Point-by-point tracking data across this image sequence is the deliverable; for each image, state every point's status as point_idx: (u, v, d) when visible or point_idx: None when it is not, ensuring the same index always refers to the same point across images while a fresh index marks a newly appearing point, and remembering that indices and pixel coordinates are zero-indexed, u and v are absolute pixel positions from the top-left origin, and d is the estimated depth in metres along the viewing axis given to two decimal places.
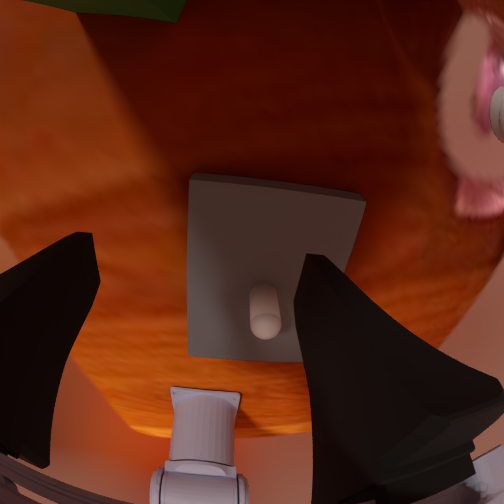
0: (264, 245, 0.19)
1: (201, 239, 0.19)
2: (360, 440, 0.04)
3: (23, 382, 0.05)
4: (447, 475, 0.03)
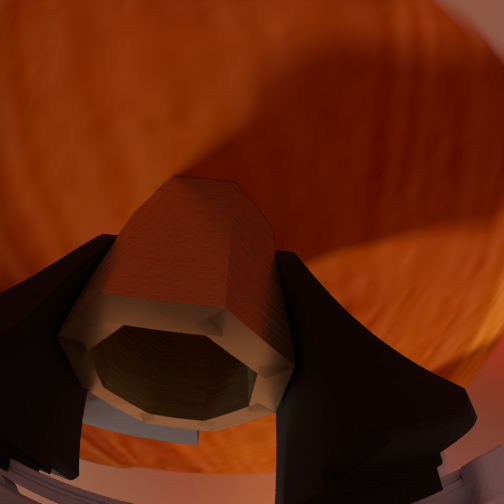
0: None
1: None
2: (309, 446, 0.04)
3: (55, 393, 0.05)
4: (407, 490, 0.03)
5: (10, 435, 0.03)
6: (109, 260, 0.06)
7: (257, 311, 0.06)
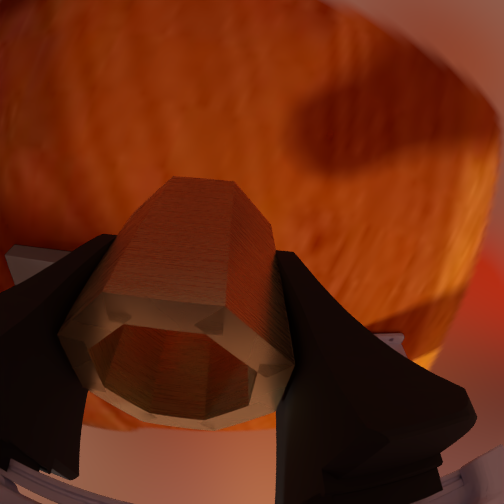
0: None
1: None
2: (309, 446, 0.04)
3: (55, 394, 0.05)
4: (407, 490, 0.03)
5: (10, 435, 0.03)
6: (109, 259, 0.06)
7: (257, 310, 0.06)
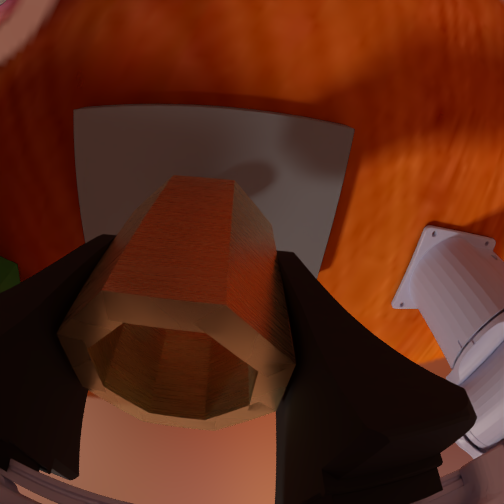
0: (133, 206, 0.17)
1: None
2: (309, 446, 0.04)
3: (55, 393, 0.05)
4: (407, 490, 0.03)
5: (10, 435, 0.03)
6: (109, 258, 0.06)
7: (258, 309, 0.05)
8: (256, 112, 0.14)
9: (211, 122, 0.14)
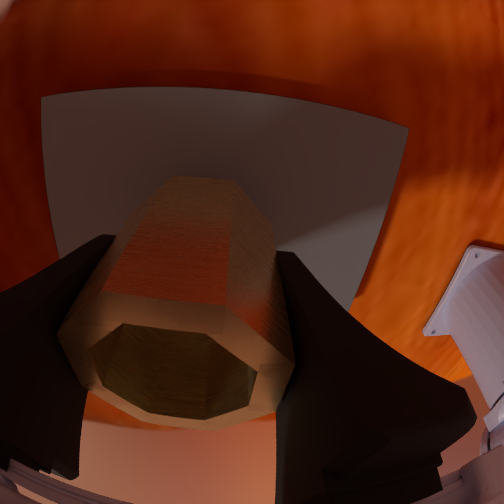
0: (118, 222, 0.12)
1: None
2: (309, 446, 0.04)
3: (55, 394, 0.05)
4: (407, 490, 0.03)
5: (10, 435, 0.03)
6: (109, 258, 0.06)
7: (257, 309, 0.05)
8: (286, 98, 0.10)
9: (223, 110, 0.10)
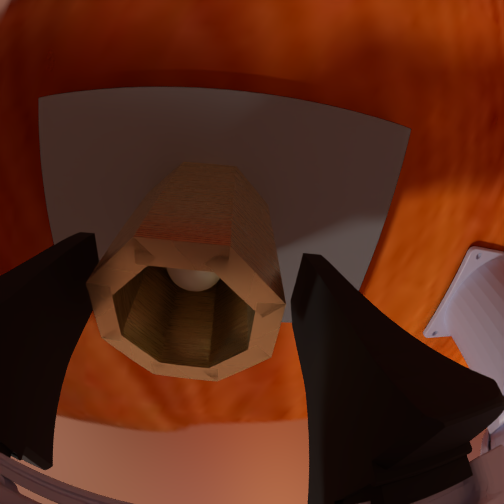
0: (116, 224, 0.12)
1: None
2: (355, 441, 0.04)
3: (26, 383, 0.05)
4: (443, 477, 0.03)
5: None
6: (132, 223, 0.08)
7: (255, 257, 0.07)
8: (286, 98, 0.10)
9: (222, 110, 0.10)
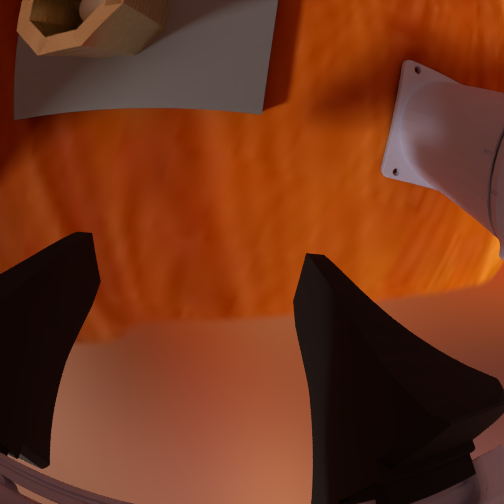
0: None
1: (57, 99, 0.13)
2: (360, 440, 0.04)
3: (23, 382, 0.05)
4: (447, 475, 0.03)
5: None
6: None
7: None
8: None
9: None
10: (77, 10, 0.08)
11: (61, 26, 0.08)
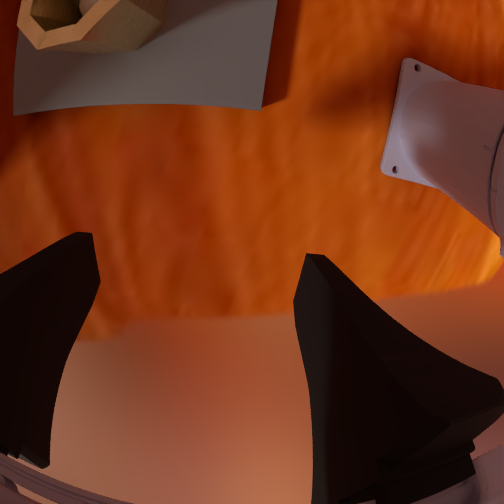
0: None
1: (56, 94, 0.12)
2: (360, 440, 0.04)
3: (23, 382, 0.05)
4: (447, 475, 0.03)
5: None
6: None
7: None
8: None
9: None
10: (77, 6, 0.08)
11: (61, 21, 0.08)
